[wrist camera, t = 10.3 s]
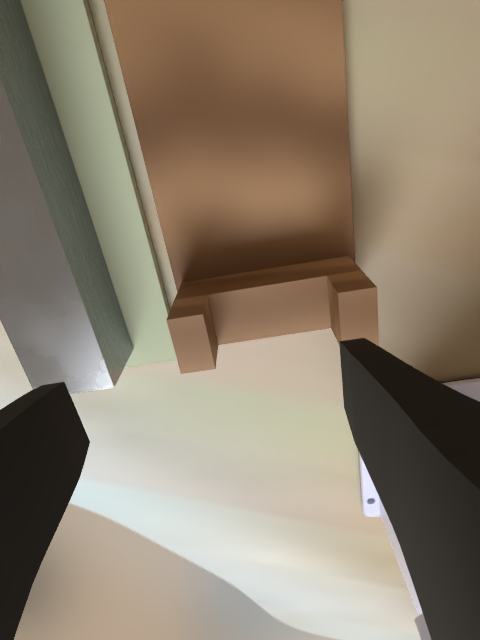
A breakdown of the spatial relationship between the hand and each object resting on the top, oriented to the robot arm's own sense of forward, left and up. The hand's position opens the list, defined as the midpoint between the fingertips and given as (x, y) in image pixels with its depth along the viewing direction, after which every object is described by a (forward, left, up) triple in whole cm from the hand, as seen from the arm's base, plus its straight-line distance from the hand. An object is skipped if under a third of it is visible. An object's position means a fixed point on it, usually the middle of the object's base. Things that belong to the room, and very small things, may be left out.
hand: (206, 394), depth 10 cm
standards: (+6, -2, -10) cm, 12 cm away
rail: (+6, +7, -9) cm, 13 cm away
